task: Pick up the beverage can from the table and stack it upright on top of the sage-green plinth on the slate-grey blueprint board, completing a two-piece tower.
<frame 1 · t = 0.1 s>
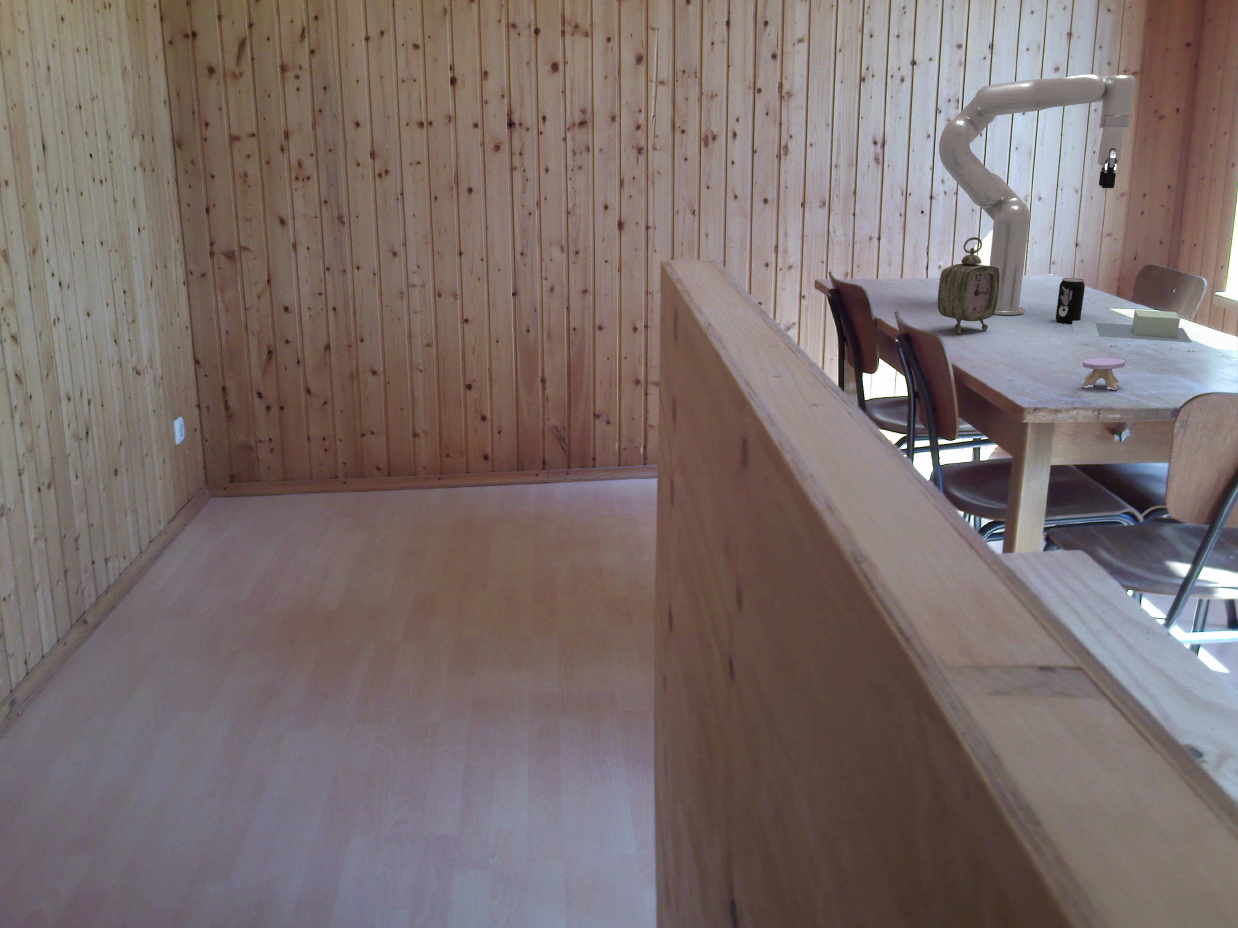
hand: (1106, 187, 313), 37 cm above the table, tool pointing down, fingers open, 9 cm apart
tabletop clock: (963, 331, 304), on the table
blueprint board: (1141, 335, 299), on the table
beverage can: (1067, 322, 317), on the table
toy table: (1100, 387, 245), on the table
plinth: (1154, 332, 297), resting on blueprint board
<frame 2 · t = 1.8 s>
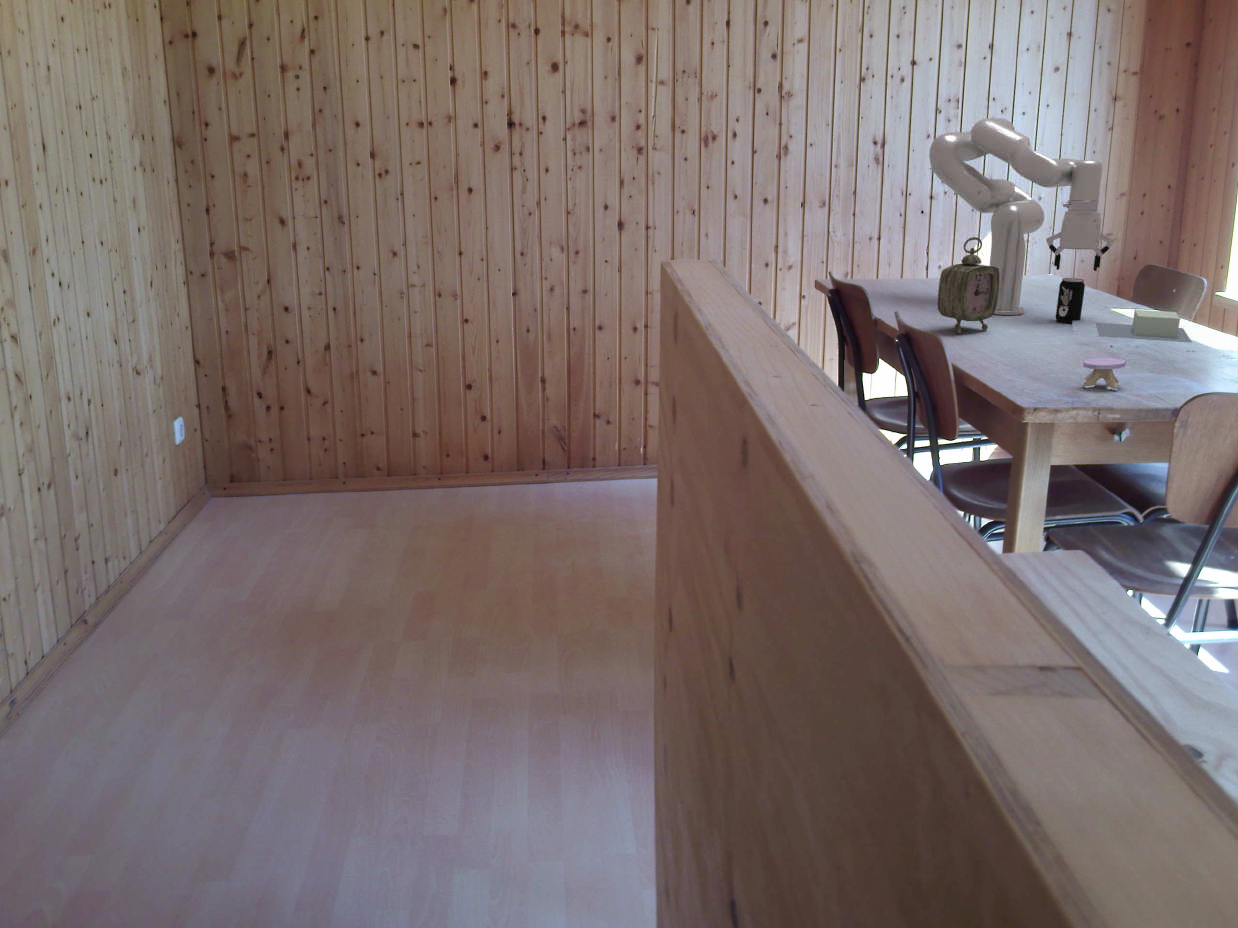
hand: (1076, 269, 312), 15 cm above the table, tool pointing down, fingers open, 9 cm apart
nothing on the table moved.
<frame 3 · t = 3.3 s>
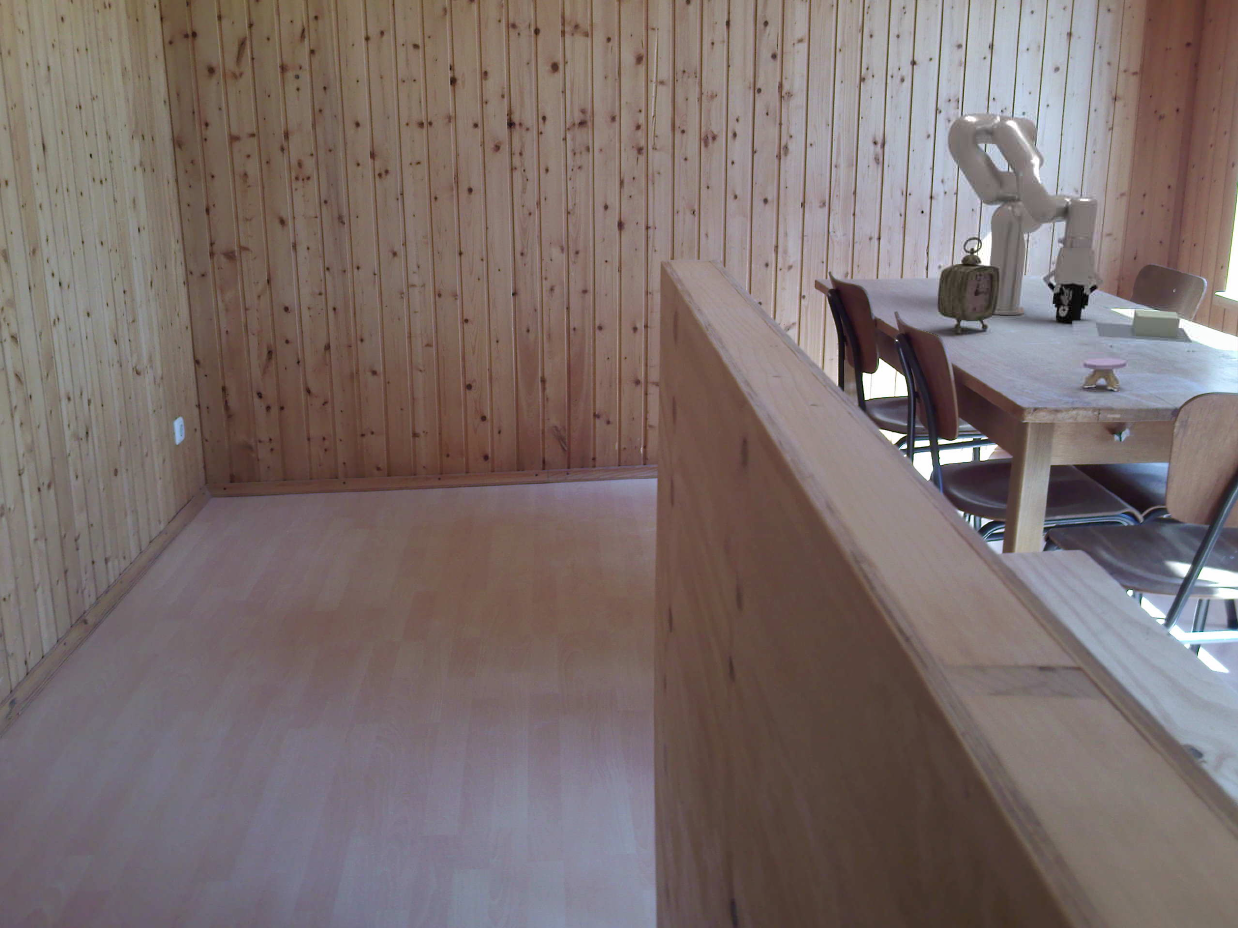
hand: (1069, 307, 316), 4 cm above the table, tool pointing down, fingers closed on beverage can, 6 cm apart
beverage can: (1067, 322, 317), on the table, touching gripper
everything else where it was.
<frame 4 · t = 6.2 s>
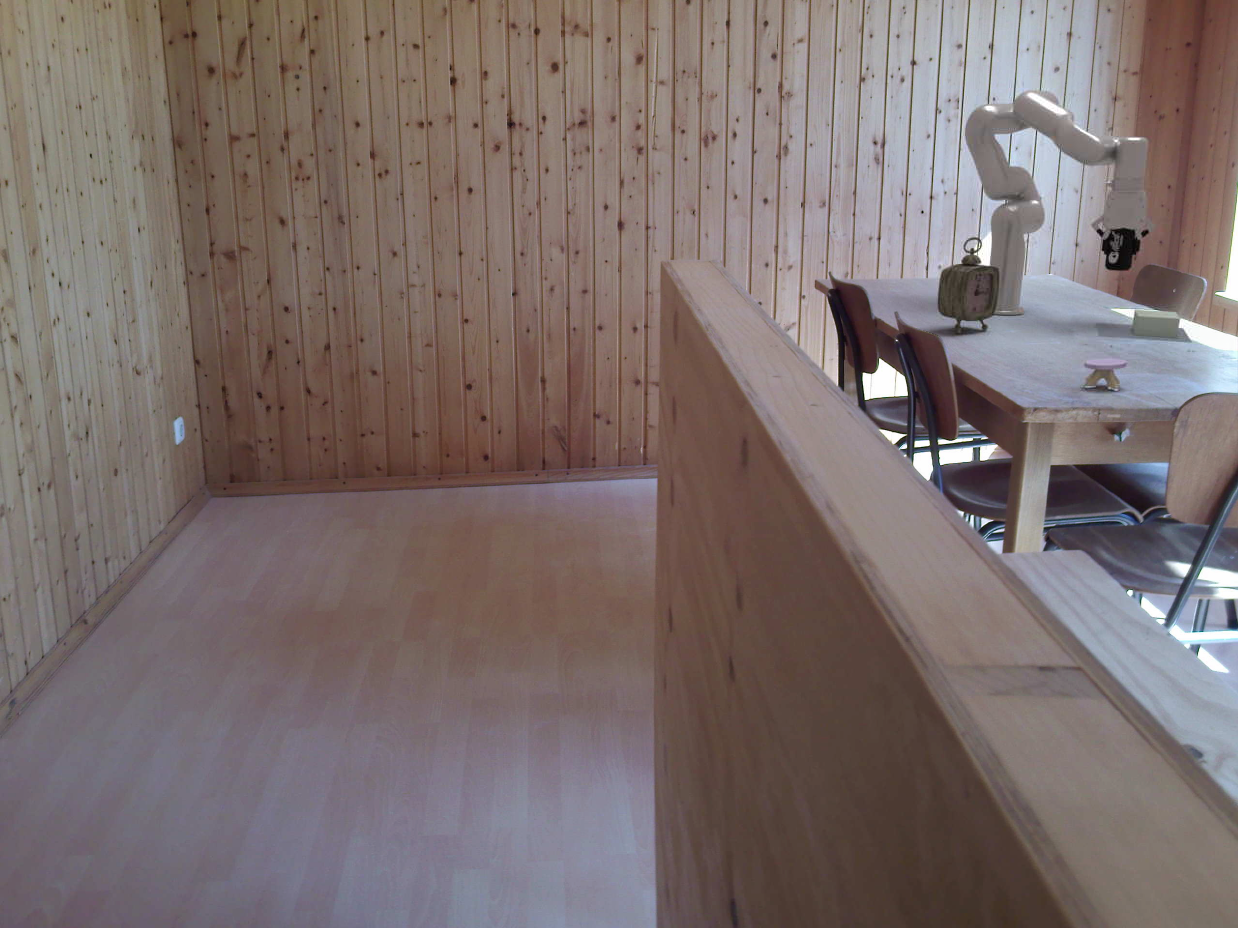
hand: (1119, 253, 301), 20 cm above the table, tool pointing down, fingers closed on beverage can, 6 cm apart
beverage can: (1117, 270, 302), point 16 cm above the table, touching gripper
everything else where it was.
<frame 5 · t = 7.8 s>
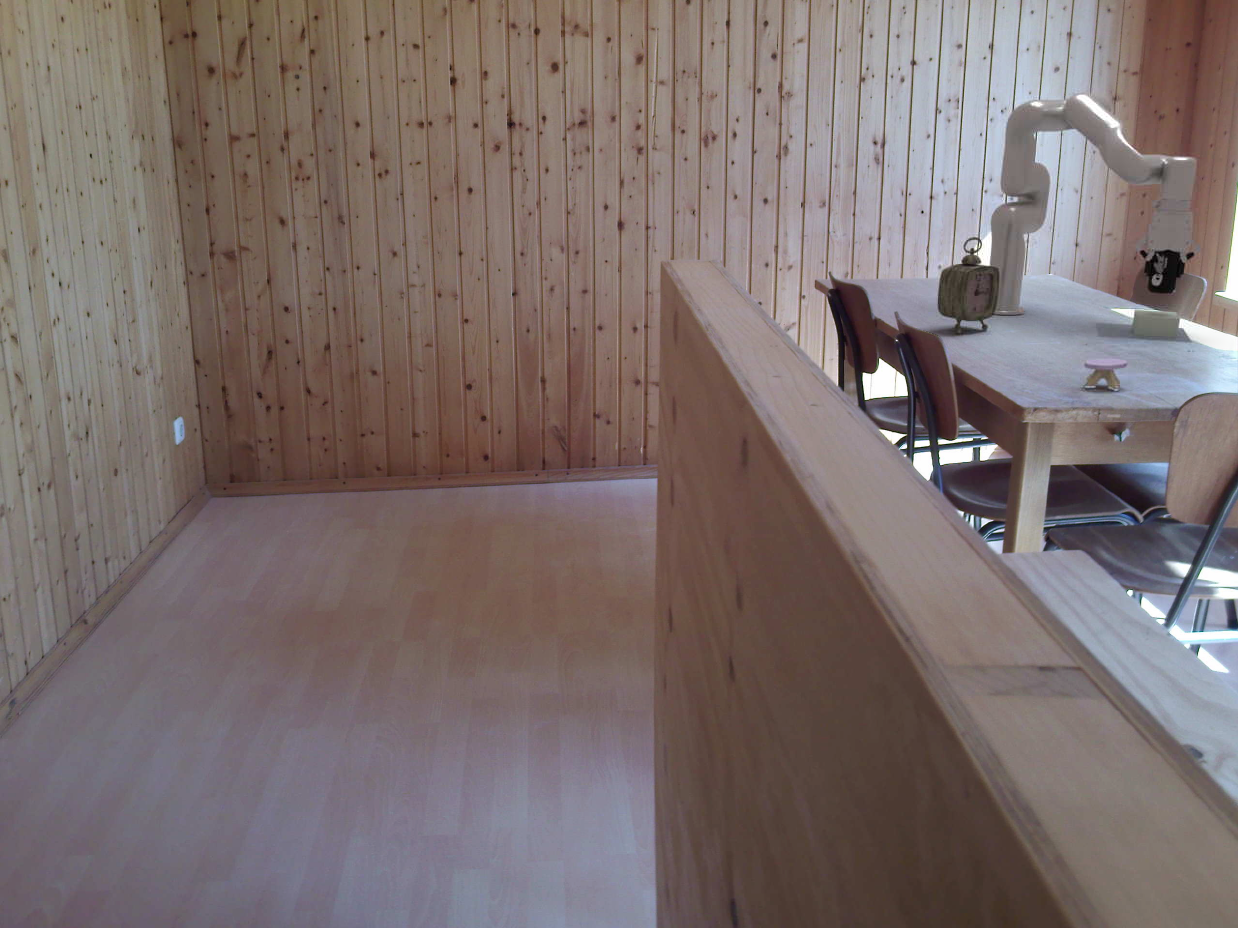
hand: (1163, 276, 293), 16 cm above the table, tool pointing down, fingers closed on beverage can, 6 cm apart
beverage can: (1160, 292, 294), point 12 cm above the table, touching gripper
everything else where it was.
when the fingers open (11 cm above the table, at t = 9.0 s): beverage can drops 1 cm, resting on plinth.
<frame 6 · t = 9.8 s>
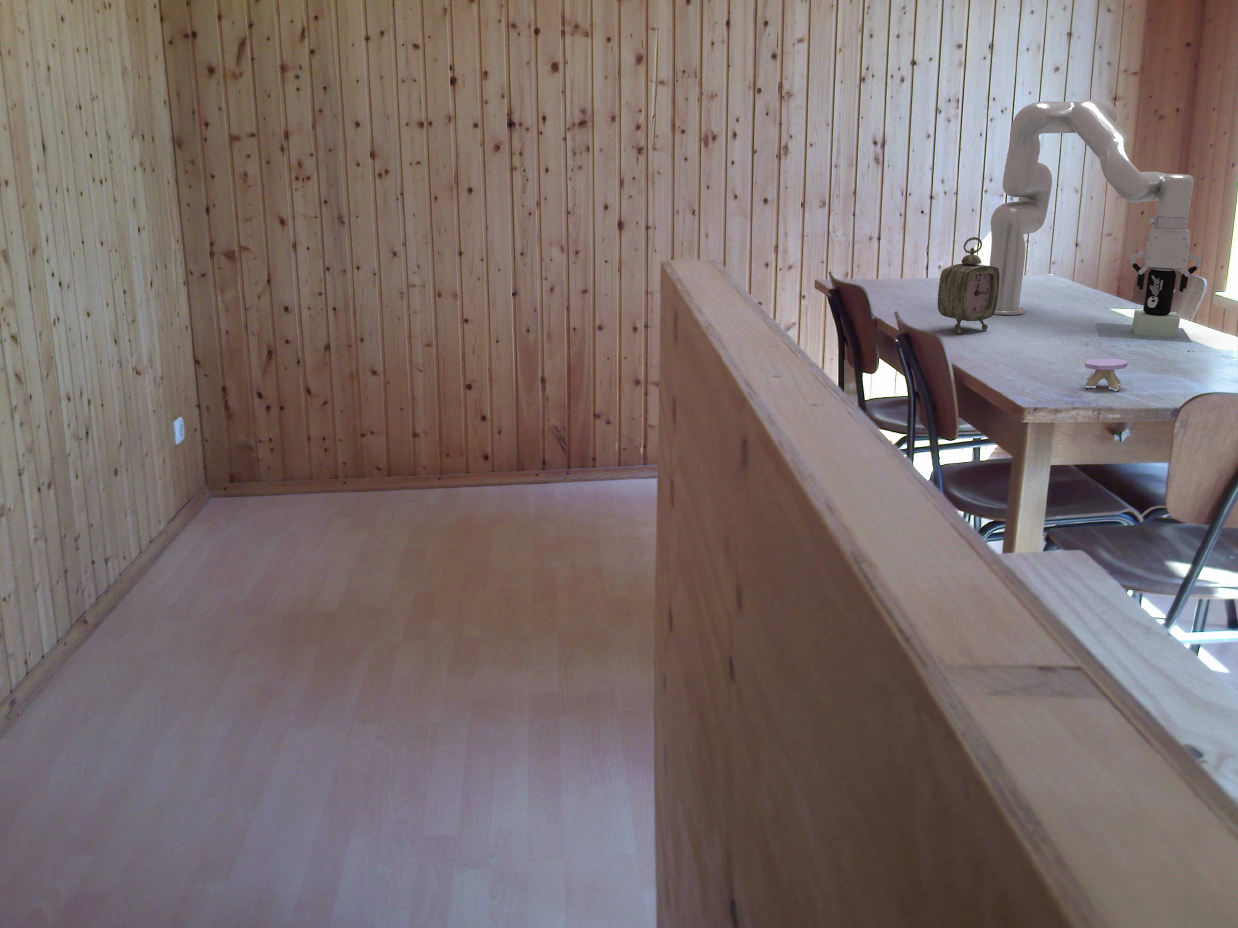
hand: (1160, 290, 294), 12 cm above the table, tool pointing down, fingers open, 9 cm apart
beverage can: (1156, 314, 296), point 6 cm above the table, touching plinth
everything else where it was.
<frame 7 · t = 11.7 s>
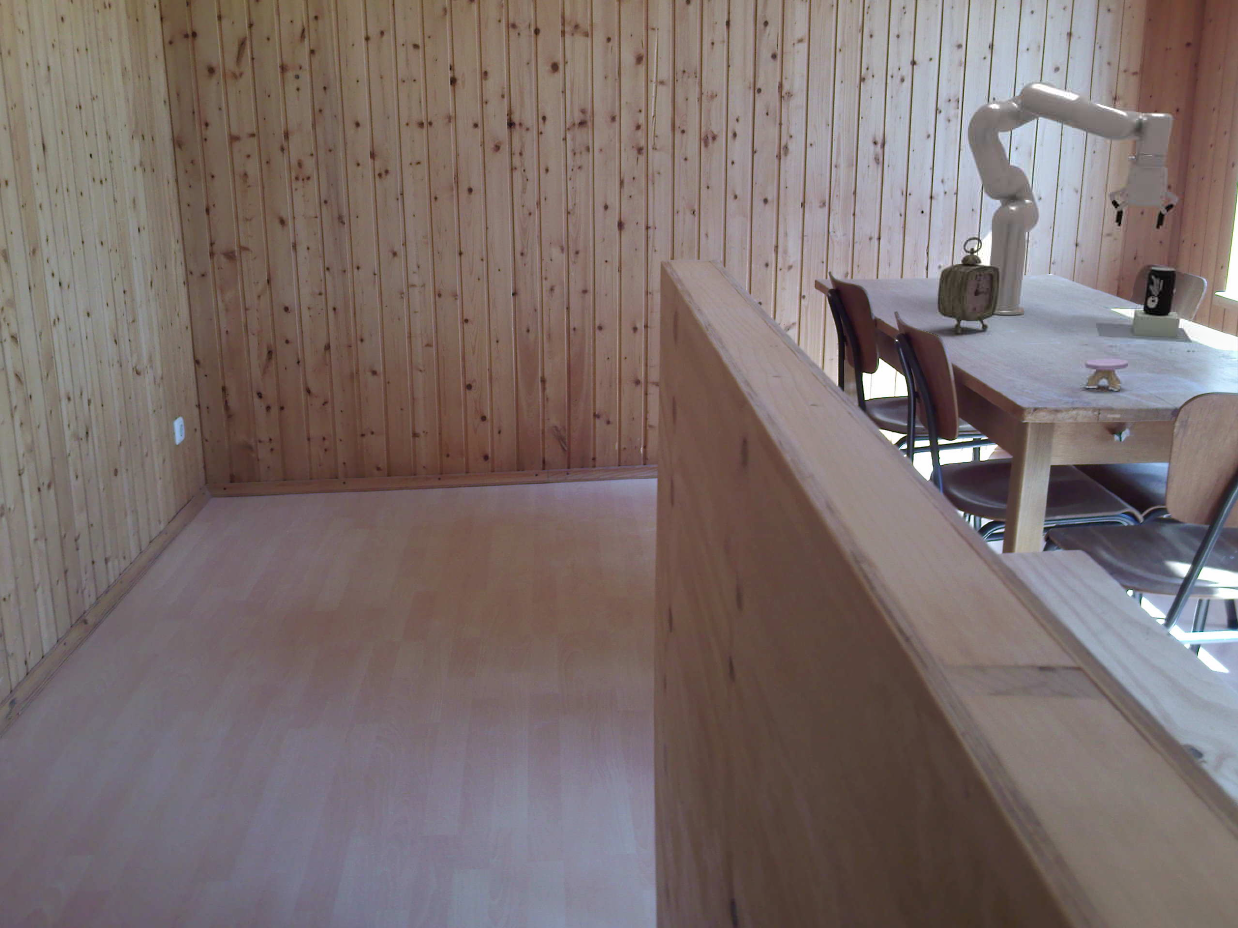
hand: (1138, 227, 304), 27 cm above the table, tool pointing down, fingers open, 9 cm apart
nothing on the table moved.
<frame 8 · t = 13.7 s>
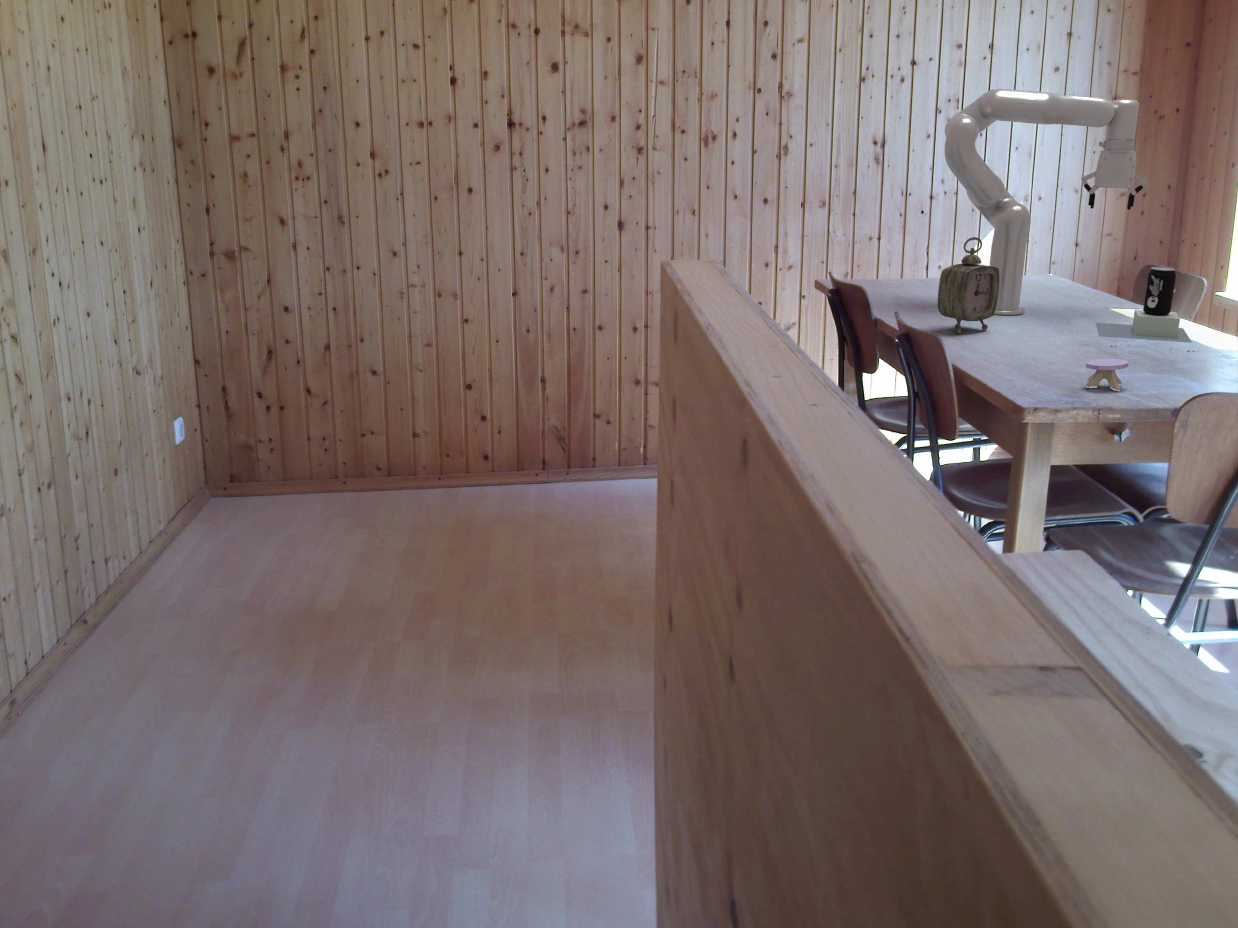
hand: (1110, 208, 318), 30 cm above the table, tool pointing down, fingers open, 9 cm apart
nothing on the table moved.
at the end: beverage can 0.3 cm off-centre on the plinth, point 4.8 cm above the plinth's base; beverage can tilted 0°; the gripper is holding nothing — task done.
